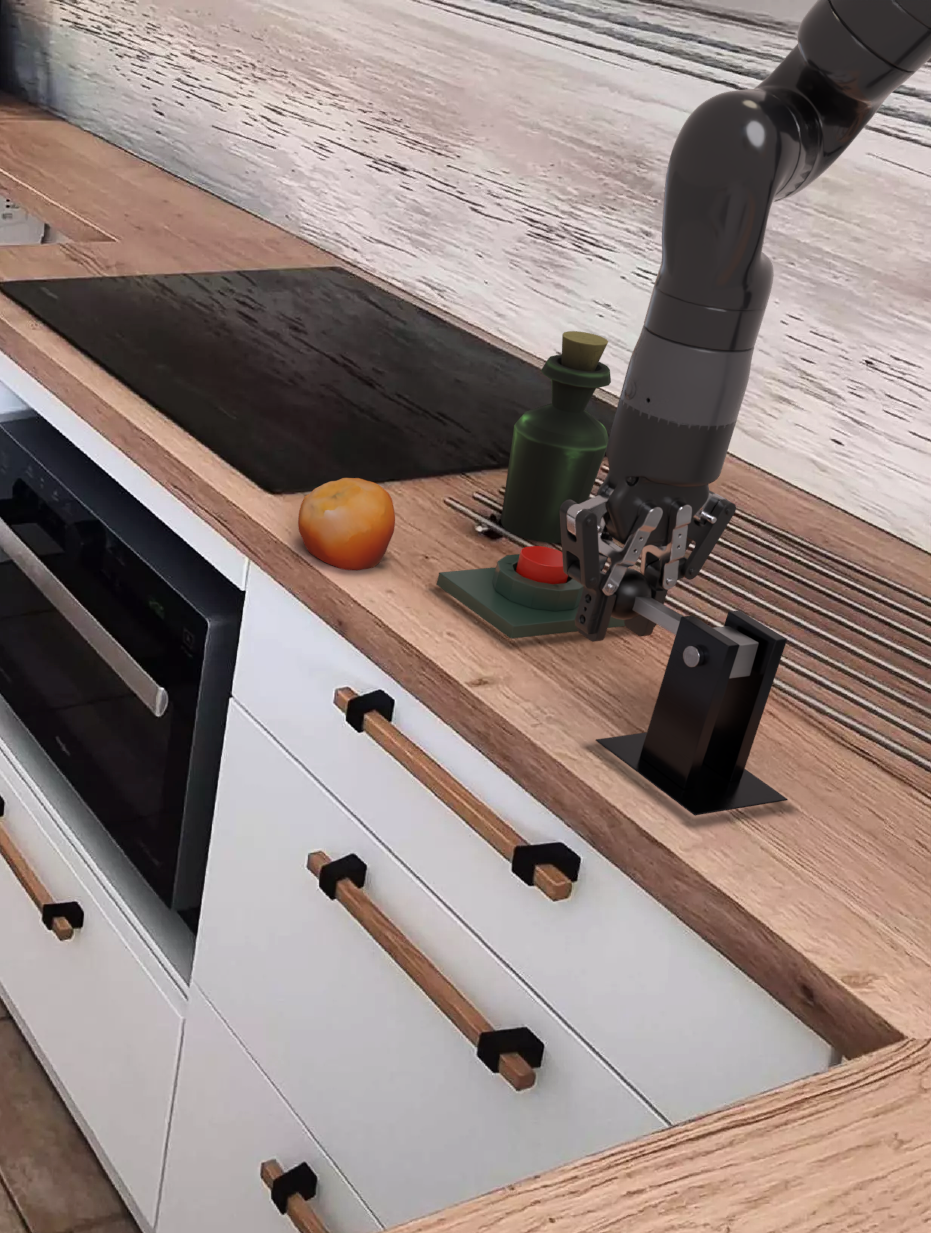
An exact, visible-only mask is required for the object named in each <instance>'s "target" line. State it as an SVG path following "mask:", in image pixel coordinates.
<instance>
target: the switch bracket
mask: <svg viewBox="0 0 931 1233" xmlns="http://www.w3.org/2000/svg"><path fill="white" fill-rule="evenodd" d="M723 626H730V627H731V628H733V629H735V630H737V631H739V632H740V633H742V634H744V635H746V636H748V637H749V638H751V639H753V640H755V641H757V642H758V643H759V644H758V648H757V651H756V655H755V658H754V662H753V666H752V669H751V673H750V676H744V677H736V678H730V674H731V671H732V668H733V665H734V662H735V659H736V655H737V652H738V649H739V646H740V645H739V644H738V643H736V642H734V641H733V640H731V639H730V638H728V637H727V636H725V635H723V634H722V633H720V632H719V631H717V630H715V629H714V627H712V626H711V625H709V624H707V623H705V622H704V621H703V620H701V619H699V618H698V617H697V616H695V615H693V614H691V615H685V616H684V615H683V616H682V617H681V619H680V623H679V626H678V629H677V633H676V635H675V636H674V639H673V643H672V646H671V649H670V653H669V656H668V660H667V663H666V667H665V670H664V674H663V678H662V680H661V683H660V687H659V691H658V694H657V697H656V701H655V704H654V707H653V710H652V713H651V717H650V721H649V724H648V727H647V731H645V732H639V733H638V732H637V733H631V734H624V735H618V736H617V735H616V736H611V737H604V738H603V737H602V738H596V739H595V742H597V743H598V744H599V745H600V746H602V747H604V749H606V750H607V751H609V752H610V753H611V754H613V755H614V756H615V757H616V758H618V759H619V760H620V761H621V762H623V763H624V764H626V765H627V766H628V767H630V768H631V769H632V770H634V771H635V772H636V773H638V774H639V775H640V776H641V777H643V778H644V779H645V780H647V781H648V782H650V784H652V785H653V786H655V787H656V788H657V789H659V790H660V791H661V792H663V793H664V794H665V795H666V796H668V797H669V798H671V800H673V801H674V802H676V803H677V804H679V805H680V806H681V807H682V808H684V809H685V810H686V811H688V812H689V813H690V814H691V815H693V816H702V815H707V814H714V813H719V812H725V811H732V810H737V809H743V808H750V807H755V806H762V805H768V804H773V803H780V802H786V801H788V800H789V799H788V798H787V797H786V796H784V795H783V794H781V793H780V792H779V791H777V790H776V789H775V788H773V787H771V786H770V785H768V784H767V783H766V782H765V781H763V780H761V779H760V778H759V777H758V776H756V775H755V774H753V773H752V772H750V771H749V770H748V769H746V766H747V763H748V760H749V756H750V753H751V751H752V747H753V744H754V741H755V738H756V735H757V732H758V730H759V726H760V724H761V722H762V717H763V715H764V711H765V709H766V705H767V702H768V699H769V697H770V693H771V690H772V688H773V687H772V686H773V684H774V681H775V679H776V678H775V677H776V675H777V673H778V669H779V666H780V663H781V659H782V657H783V653H784V650H785V648H786V645H787V641H788V639H787V638H786V637H784V636H783V635H782V634H780V633H778V632H776V631H775V630H773V629H771V628H770V627H768V626H767V625H765V624H764V623H761V622H760V621H758V620H756V619H755V618H754V617H751V616H750V615H748V614H746V613H745V612H744V611H742V610H740V609H739V610H730V611H728V612H727V615H726V618H725V621H724V625H723Z"/></svg>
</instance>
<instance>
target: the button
mask: <svg viewBox="0 0 931 1233" xmlns="http://www.w3.org/2000/svg"><path fill="white" fill-rule="evenodd" d="M519 554H520V555H519V560H518V564H517V568H516V572H517V573H518V574H519V575H521V576H522V577H525V578H528V579H530V580H533V581H536V582H541V583H548V584H563V583H566V582H567V579H568V575H567V574H565V573H564V571H563V558H562V550H561V551H560V550H558V549H555V548H552V547H548V546H543V545H542V546H541V545H530V546H524V547H522V548H521V550H520V552H519Z"/></svg>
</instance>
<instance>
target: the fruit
mask: <svg viewBox="0 0 931 1233" xmlns="http://www.w3.org/2000/svg"><path fill="white" fill-rule="evenodd" d="M297 518H298V520H297V527H298V528H297V529H298V532H299V534H300V537H301V539H302V542H303V544H304V547H305V548H306V550H307V551H308V553H309V554H311V555H312V556H314V557H315V558H317V560H320V561H321V562H324V563H325V564H327V565H330V566H332V567H334V568H337V569H340V570H345V571H363V570H369V569H373V568H375V567H376V566H377V565H379V564H380V563H381V562H383V559H384V557H385V555H386V552H387V550H388V547H389V546H390V543H391V540H392V537H393V535H394V532H395V528H396V513H395V507H394V502H393V499H392V497H391V495H390V493H389V492H388V491H387V490H385V488H383V487H382V486H381V485H380V484H377V483H376V482H373V481H370V480H366V479H363V478H361V477H360V478H359V477H355V478H354V477H342V478H340V479H337V480H331V481H328V482H326V483H323V484H321V485H320V486H318V487H315V488H314V489H313V490H311V491H310V492H309V493H308V494H306V495H305V496H304V497H303V499H302V502H301V504H300V507H299V512H298V517H297Z"/></svg>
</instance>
